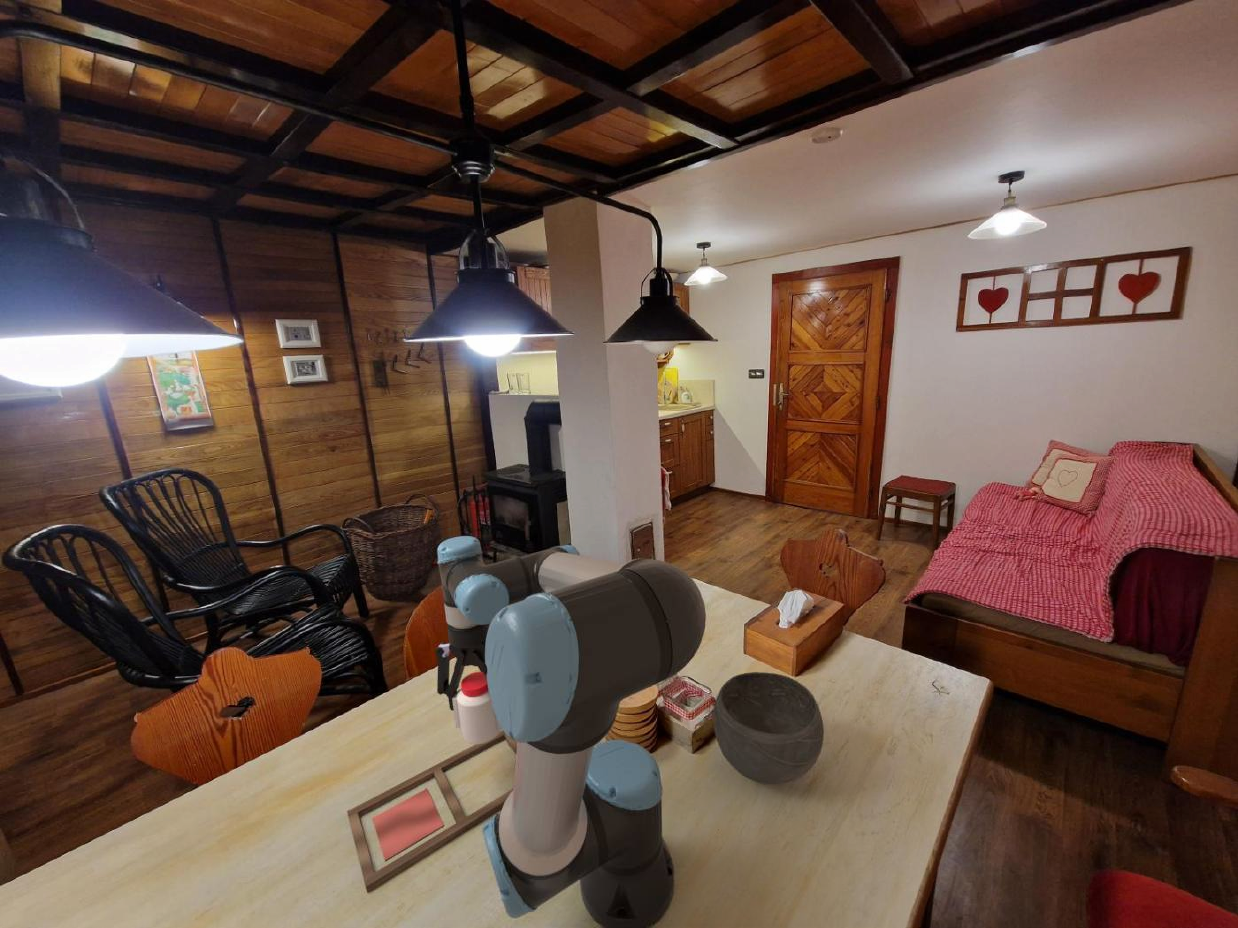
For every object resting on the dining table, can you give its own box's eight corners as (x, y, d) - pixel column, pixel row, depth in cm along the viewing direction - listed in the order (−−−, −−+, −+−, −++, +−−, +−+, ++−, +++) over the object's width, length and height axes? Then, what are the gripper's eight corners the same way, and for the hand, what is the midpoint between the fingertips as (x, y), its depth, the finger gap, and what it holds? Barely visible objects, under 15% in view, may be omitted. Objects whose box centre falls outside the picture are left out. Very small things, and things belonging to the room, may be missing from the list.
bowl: (826, 744, 105) (830, 682, 101) (812, 829, 87) (817, 758, 83) (729, 713, 115) (730, 656, 111) (699, 783, 97) (699, 718, 93)
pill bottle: (491, 746, 92) (485, 695, 90) (454, 742, 94) (446, 691, 92) (508, 717, 100) (503, 669, 97) (473, 713, 101) (467, 666, 99)
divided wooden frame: (544, 781, 98) (544, 776, 98) (367, 892, 79) (365, 886, 79) (508, 731, 112) (507, 727, 111) (348, 816, 93) (347, 811, 92)
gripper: (527, 609, 94) (537, 713, 99) (426, 607, 97) (441, 707, 102) (514, 631, 87) (525, 741, 92) (405, 628, 89) (422, 735, 94)
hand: (481, 723), depth 97 cm, fingers closed on pill bottle, 8 cm apart
